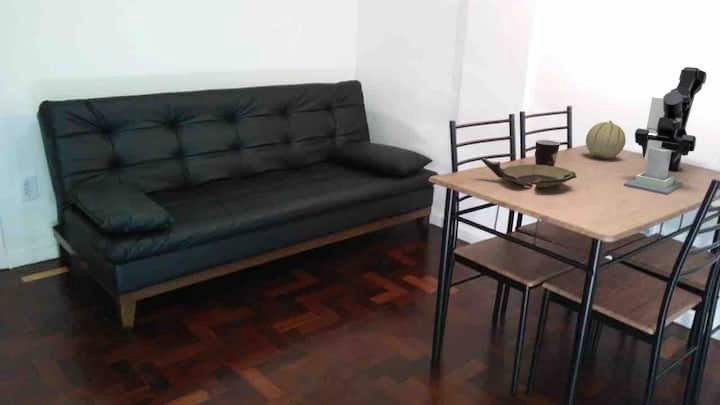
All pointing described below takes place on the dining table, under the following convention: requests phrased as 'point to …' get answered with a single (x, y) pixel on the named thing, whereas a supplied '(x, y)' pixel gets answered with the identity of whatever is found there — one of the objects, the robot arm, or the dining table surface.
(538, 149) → the coffee mug
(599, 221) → the dining table surface
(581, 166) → the dining table surface
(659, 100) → the white tall block
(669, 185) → the collar board
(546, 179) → the oil lamp
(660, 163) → the skincare box
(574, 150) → the dining table surface
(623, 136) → the cantaloupe
